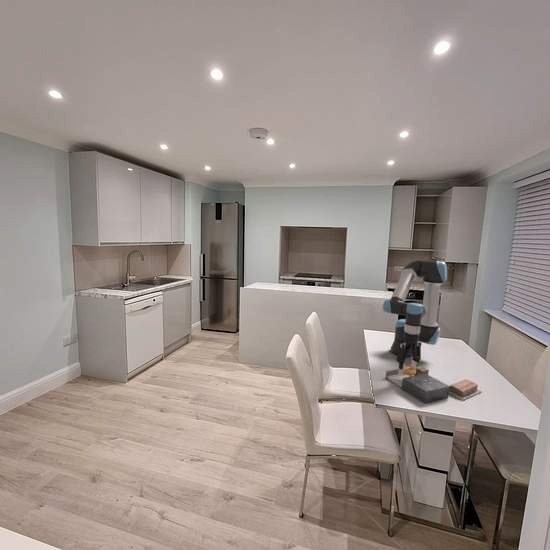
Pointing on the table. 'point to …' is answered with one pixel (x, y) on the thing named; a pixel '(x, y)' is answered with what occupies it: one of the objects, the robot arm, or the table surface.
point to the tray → (395, 376)
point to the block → (421, 370)
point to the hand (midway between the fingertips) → (407, 373)
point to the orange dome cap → (409, 371)
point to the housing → (425, 388)
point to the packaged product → (464, 389)
